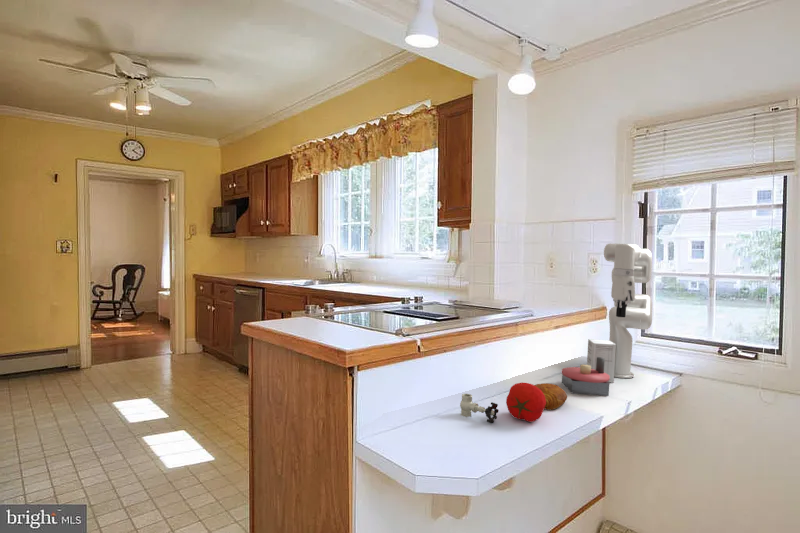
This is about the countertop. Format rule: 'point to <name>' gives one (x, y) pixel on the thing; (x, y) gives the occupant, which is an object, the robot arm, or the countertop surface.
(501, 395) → the countertop surface
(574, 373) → the handwheel
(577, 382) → the housing
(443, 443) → the countertop surface
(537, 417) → the tomato
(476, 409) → the valve
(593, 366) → the supplement box
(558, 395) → the croissant
